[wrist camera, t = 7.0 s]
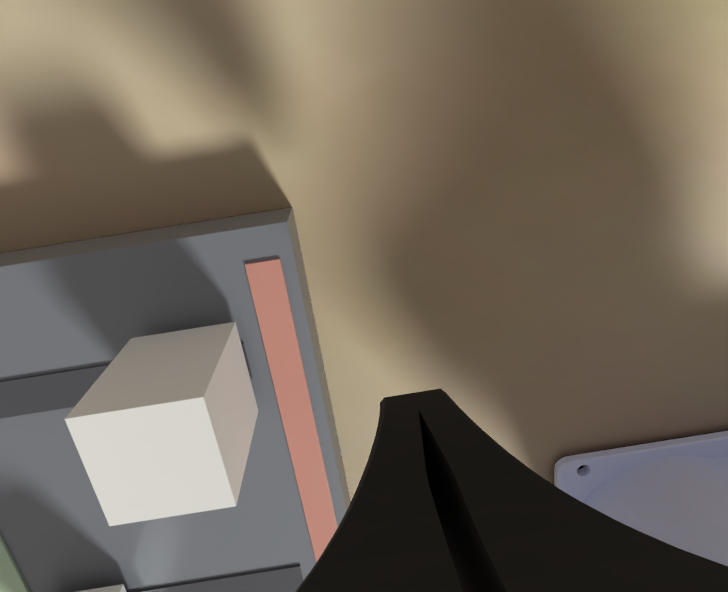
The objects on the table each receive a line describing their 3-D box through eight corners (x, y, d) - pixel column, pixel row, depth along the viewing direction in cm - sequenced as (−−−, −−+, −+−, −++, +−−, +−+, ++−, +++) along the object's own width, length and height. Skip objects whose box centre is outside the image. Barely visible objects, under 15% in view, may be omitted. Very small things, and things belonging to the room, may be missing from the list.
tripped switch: (235, 321, 15) (203, 396, 11) (258, 410, 16) (236, 506, 12) (131, 338, 15) (64, 418, 11) (161, 425, 16) (109, 525, 12)
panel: (292, 207, 16) (286, 222, 14) (395, 728, 26) (400, 780, 24) (-121, 272, 16) (-182, 296, 14) (132, 770, 26) (116, 825, 24)
